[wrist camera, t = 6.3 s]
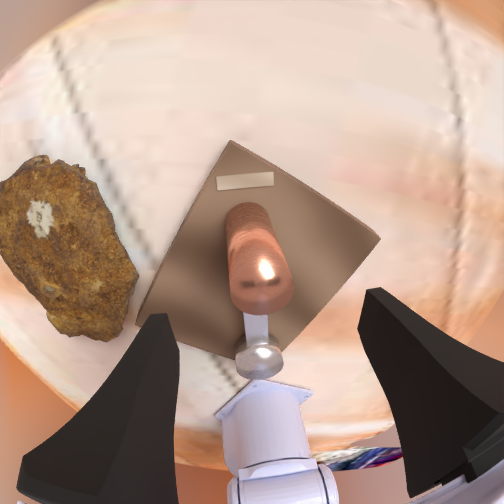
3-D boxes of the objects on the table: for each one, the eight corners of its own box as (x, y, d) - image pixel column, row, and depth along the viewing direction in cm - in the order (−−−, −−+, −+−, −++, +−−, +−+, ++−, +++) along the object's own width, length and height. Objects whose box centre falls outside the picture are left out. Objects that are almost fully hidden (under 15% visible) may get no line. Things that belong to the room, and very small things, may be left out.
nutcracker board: (262, 356, 26) (265, 369, 25) (138, 311, 22) (134, 325, 21) (372, 229, 21) (381, 239, 19) (230, 139, 17) (231, 144, 15)
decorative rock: (181, 297, 23) (85, 122, 16) (178, 332, 19) (58, 128, 12) (79, 336, 23) (-12, 201, 16) (67, 368, 20) (-41, 220, 13)
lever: (279, 358, 24) (293, 423, 19) (236, 363, 24) (243, 430, 18) (277, 199, 17) (307, 259, 11) (214, 205, 17) (213, 269, 11)
